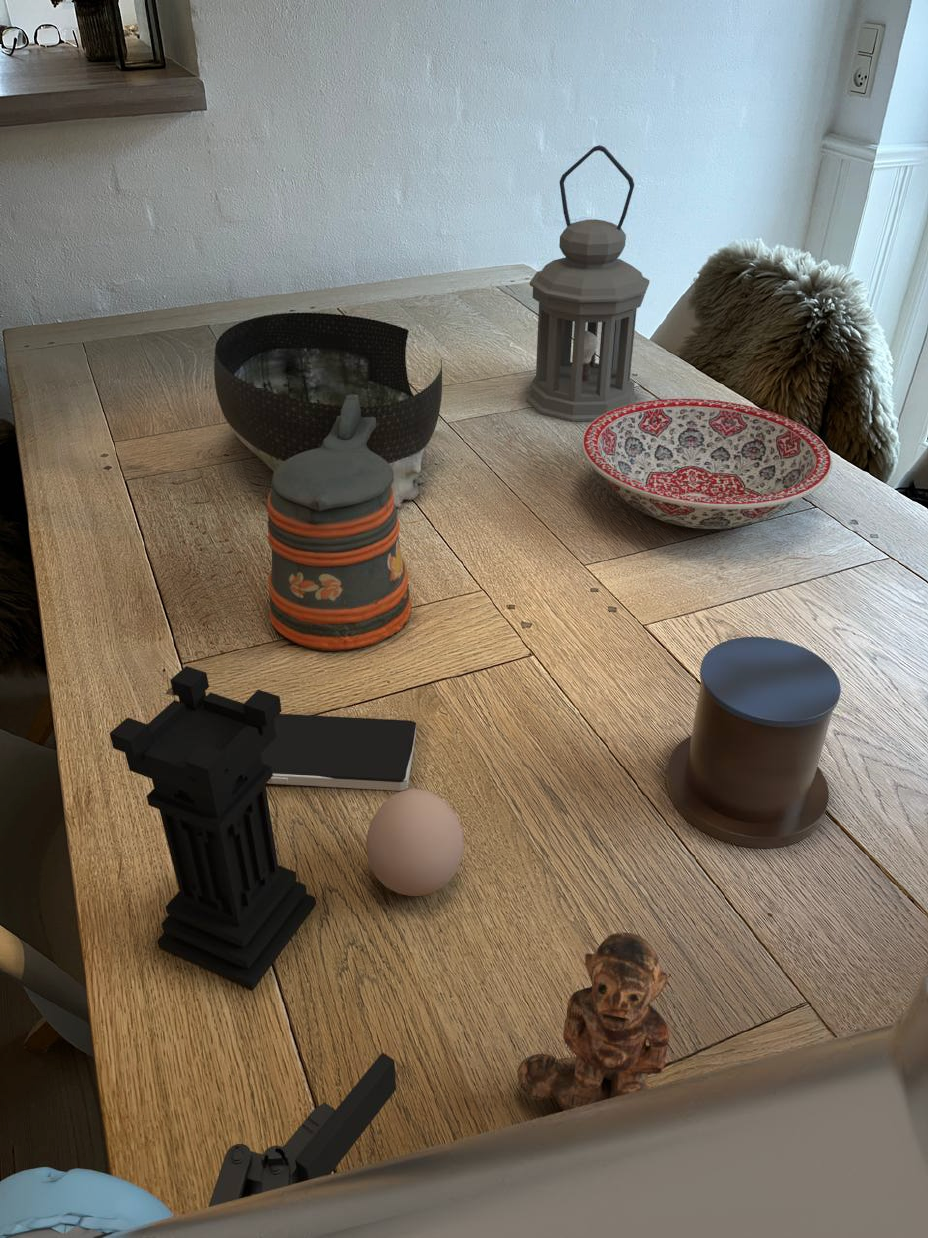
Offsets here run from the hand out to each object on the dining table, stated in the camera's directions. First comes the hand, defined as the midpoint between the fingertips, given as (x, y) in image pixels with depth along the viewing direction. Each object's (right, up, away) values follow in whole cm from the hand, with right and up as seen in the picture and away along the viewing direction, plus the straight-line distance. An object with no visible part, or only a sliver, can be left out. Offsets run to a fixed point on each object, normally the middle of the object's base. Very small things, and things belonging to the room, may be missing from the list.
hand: (502, 1146), depth 48 cm
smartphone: (-14, +13, +39) cm, 43 cm away
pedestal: (+22, +11, +35) cm, 43 cm away
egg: (-5, +5, +28) cm, 29 cm away
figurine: (+6, -5, +13) cm, 15 cm away
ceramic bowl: (+27, +39, +76) cm, 89 cm away
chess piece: (-18, +3, +24) cm, 31 cm away
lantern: (+16, +58, +103) cm, 119 cm away
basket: (-19, +46, +85) cm, 99 cm away
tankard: (-14, +27, +59) cm, 66 cm away
